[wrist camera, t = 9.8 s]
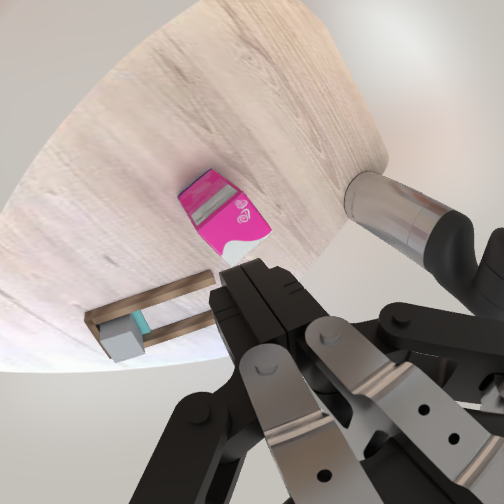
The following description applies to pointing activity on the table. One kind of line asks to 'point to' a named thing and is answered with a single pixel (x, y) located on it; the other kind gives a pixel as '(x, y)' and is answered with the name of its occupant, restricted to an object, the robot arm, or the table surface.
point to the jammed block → (122, 338)
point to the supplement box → (224, 217)
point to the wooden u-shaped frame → (150, 299)
